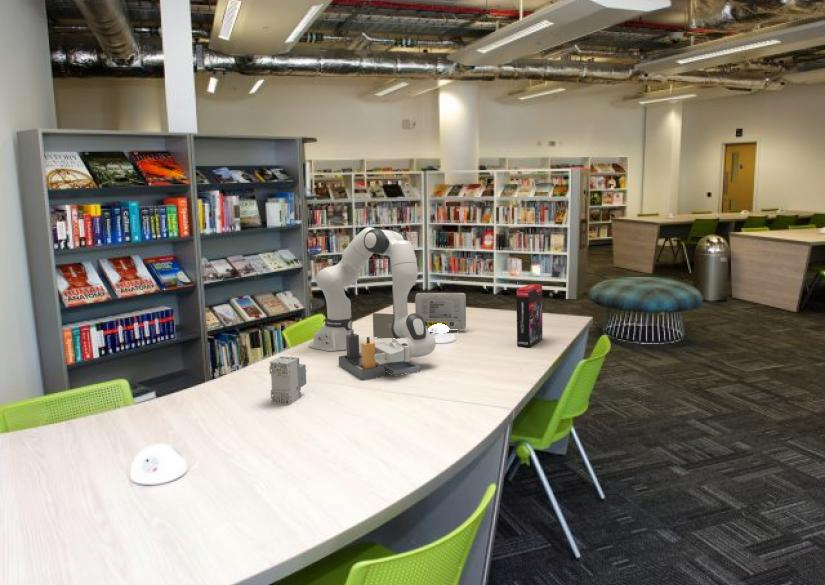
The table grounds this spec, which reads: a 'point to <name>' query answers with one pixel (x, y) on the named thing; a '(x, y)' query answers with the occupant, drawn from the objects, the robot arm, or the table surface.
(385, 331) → the laptop
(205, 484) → the table surface
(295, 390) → the circuit breaker
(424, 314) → the network device
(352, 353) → the twin plug
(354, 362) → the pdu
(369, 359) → the plug
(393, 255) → the robot arm
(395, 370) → the tray
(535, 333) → the graphics card box
